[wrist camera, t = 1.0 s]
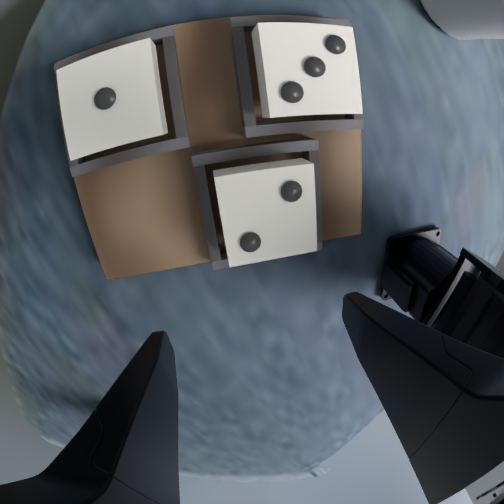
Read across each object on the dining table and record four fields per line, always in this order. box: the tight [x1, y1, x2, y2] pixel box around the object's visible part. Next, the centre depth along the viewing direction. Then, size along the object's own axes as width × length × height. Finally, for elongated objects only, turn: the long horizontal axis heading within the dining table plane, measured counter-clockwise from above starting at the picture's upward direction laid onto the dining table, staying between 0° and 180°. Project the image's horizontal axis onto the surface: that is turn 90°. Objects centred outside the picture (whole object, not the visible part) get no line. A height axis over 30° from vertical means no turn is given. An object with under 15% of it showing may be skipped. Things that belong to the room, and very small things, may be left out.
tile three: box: [251, 22, 363, 118], centre depth 12 cm, size 5×5×2 cm
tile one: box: [56, 38, 168, 161], centre depth 11 cm, size 5×5×2 cm
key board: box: [54, 15, 363, 280], centre depth 16 cm, size 18×15×3 cm
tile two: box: [213, 158, 317, 267], centre depth 16 cm, size 5×5×2 cm
